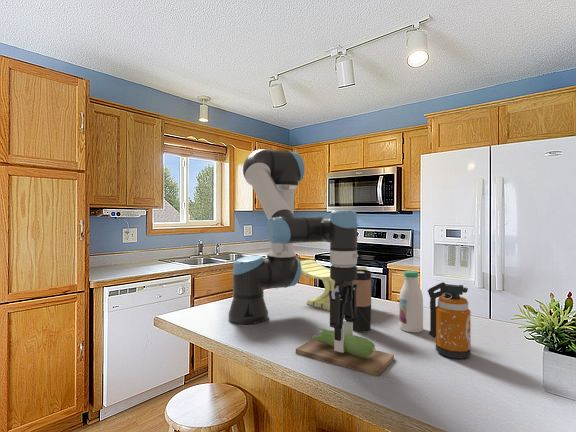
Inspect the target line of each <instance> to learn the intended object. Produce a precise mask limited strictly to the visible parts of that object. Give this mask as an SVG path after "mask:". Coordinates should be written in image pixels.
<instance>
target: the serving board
mask: <svg viewBox="0 0 576 432" xmlns="http://www.w3.org/2000/svg"><path fill="white" fill-rule="evenodd" d="M295 354H298V355H301V356H305V357H309V358H312V359H316V360H319V361H323V362H327V363H330V364H334V365H338V366H342V367H344V368H349V369H352V370H356V371H359V372H363V373H366V374H370V375H374V376H376V377H380V376H381V375H382V374H383V372H384V371H385V370H386V369H387V368H388V367H389V365H391V363H392V362H393V361H394V359H395V354H393V353H389V352H385V351H381V350H375V352H372V354H371V355H369V356H367V357H360V356H357V355H354V354H351V353H349V352H346V351H344V353H342V352H338V351H334V347H333V346H331V345H328V344H325V343H322V342H319V341H318V340H316V339H314V338H313V337H312V338H311V339H309V340H308V341H306V342H304V343H303V344H302V345H300V346H298V347H296V348H295Z"/></svg>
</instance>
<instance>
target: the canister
mask: <svg viewBox="0 0 576 432" xmlns="http://www.w3.org/2000/svg"><path fill="white" fill-rule="evenodd" d="M468 289H469V288H468V287H464V284H459V285H458V284H448V283H445V282H444V281H442V282H439V283H438V284H436V285H434V286H432V287H429V288H428V290H427V293H428V295H429V299H430V301H429V309H430V310H429V311H430V312H429V314H430V315H429V316H430V317H429V318H430V319H429V320H430V321H429V322H430V323H429V324H430V325H429V326H430V327H429V329H430V330H428V335H429V336H431V337H432V338H434V339H435V350H436V352H438V353H439V354H441V355H443V356H445V357H448V358H451V359H452V358H453V359H463V358H468V357H470V356H471V341H472V340H471V336H472V335H471V334H472V333H471V327H472V325H471V319H472V318H471V310H470V309H469V301H468V299H467V298H465V297H463V296H462V295H463V294H464V293H467V292H468ZM438 290H439V291H438ZM437 298H438V299H437ZM436 304H437V305H436Z"/></svg>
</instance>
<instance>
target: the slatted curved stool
mask: <svg viewBox="0 0 576 432" xmlns="http://www.w3.org/2000/svg"><path fill="white" fill-rule="evenodd" d="M300 262H301V264H300V265H301V269H302V270H301V275H305V277H306V278H309V279H310V278H312V279H313V278H314V279H317V280H321V281H322V283H323V286H324V291H323V293H322V294H320V295H319V296H317V297H315V298H312V299H309V300H307V301H306V305H307V304H309V305H308V306H311V305H312V306H313V305H314V307H315V306H317V307H316V308H319V307H320V309H323V308H324V309H323V310H326V309H327V310H326V311H330V297H329V291H333V290H334V285H335V281H334V280H332V279H331V278H330V268H328V267H326V266H324V265H322V264H321V263H319V262H318V261H316V260H314V259H305V260H300ZM357 270H368V268H367V267H366V266H359V267H357ZM340 300H342V299H340Z"/></svg>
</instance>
